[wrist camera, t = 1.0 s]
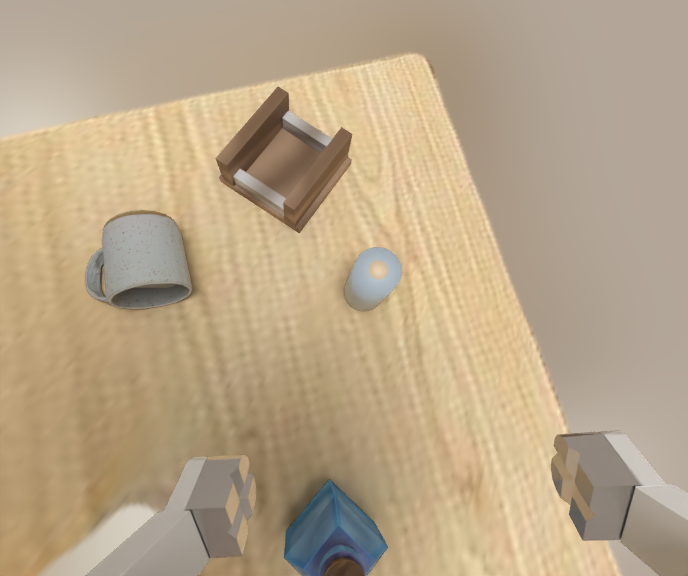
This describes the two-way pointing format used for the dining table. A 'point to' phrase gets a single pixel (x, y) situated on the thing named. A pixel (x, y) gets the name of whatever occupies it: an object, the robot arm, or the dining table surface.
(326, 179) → the holder
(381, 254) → the paper roll
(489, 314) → the dining table surface
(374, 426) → the dining table surface
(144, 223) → the ceramic mug
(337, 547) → the perfume bottle
